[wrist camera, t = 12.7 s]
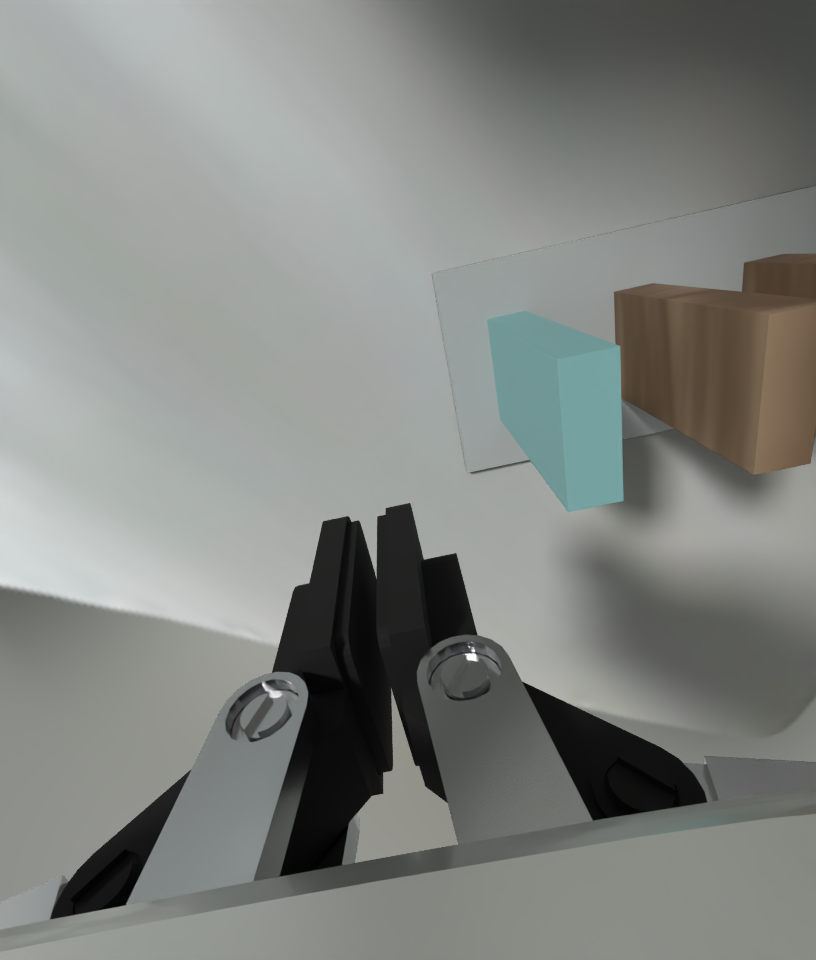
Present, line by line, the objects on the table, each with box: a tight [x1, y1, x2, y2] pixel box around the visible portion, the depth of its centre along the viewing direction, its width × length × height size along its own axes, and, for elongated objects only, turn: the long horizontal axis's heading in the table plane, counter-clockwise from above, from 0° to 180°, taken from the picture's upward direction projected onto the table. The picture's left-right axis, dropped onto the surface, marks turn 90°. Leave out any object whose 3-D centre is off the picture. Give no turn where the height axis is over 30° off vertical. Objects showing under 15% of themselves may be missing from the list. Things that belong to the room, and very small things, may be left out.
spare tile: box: [487, 311, 623, 512], centre depth 19 cm, size 2×5×10 cm, turn 12°
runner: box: [432, 186, 816, 473], centre depth 24 cm, size 29×10×1 cm, turn 102°
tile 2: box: [614, 283, 816, 475], centre depth 19 cm, size 2×5×10 cm, turn 12°
